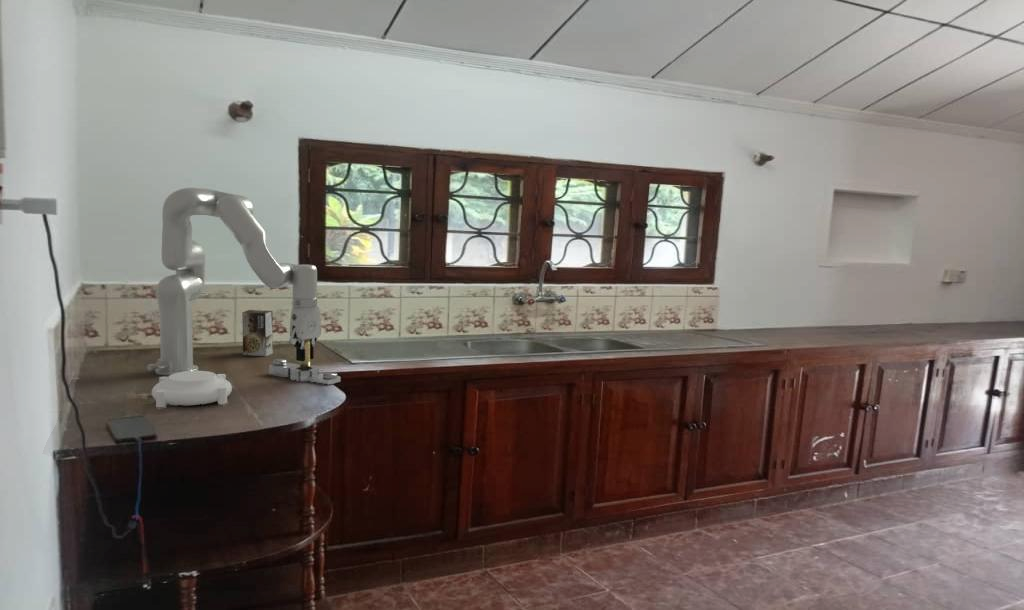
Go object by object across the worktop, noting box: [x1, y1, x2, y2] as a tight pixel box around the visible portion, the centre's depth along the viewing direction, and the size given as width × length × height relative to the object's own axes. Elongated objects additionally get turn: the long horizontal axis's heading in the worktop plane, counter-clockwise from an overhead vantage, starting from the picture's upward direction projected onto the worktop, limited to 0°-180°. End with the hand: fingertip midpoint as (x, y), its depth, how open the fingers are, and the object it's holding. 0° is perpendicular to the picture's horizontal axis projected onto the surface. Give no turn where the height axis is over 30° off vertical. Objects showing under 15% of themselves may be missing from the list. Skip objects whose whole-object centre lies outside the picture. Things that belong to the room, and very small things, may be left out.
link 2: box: [289, 371, 341, 385], centre depth 227 cm, size 9×17×3 cm, turn 65°
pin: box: [299, 339, 311, 370], centre depth 228 cm, size 4×4×12 cm
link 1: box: [268, 358, 320, 378], centre depth 231 cm, size 9×17×4 cm, turn 65°
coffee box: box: [241, 309, 274, 357], centre depth 260 cm, size 9×6×16 cm
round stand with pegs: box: [151, 370, 233, 408], centre depth 200 cm, size 24×24×7 cm
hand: (304, 359), depth 228 cm, fingers closed on pin, 3 cm apart
